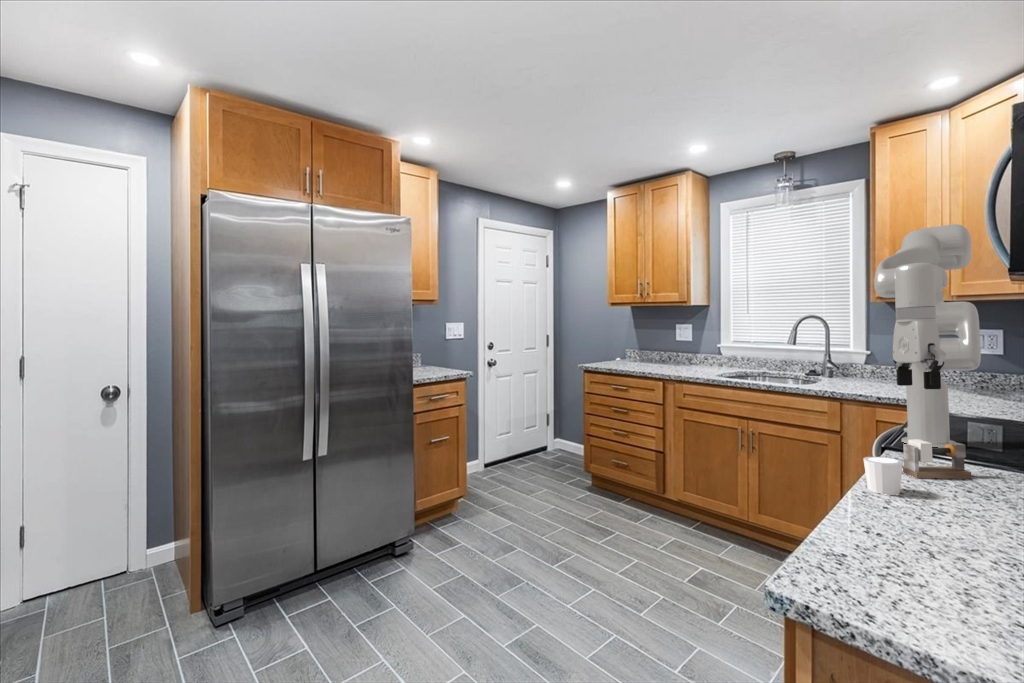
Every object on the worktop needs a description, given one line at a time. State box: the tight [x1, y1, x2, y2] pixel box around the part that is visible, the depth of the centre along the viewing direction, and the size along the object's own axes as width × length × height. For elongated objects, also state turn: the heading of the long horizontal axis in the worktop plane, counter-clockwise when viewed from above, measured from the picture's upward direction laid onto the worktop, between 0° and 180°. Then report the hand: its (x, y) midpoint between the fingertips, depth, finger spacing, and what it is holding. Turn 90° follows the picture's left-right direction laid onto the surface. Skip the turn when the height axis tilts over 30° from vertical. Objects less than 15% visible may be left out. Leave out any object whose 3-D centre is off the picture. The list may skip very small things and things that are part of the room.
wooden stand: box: [902, 442, 972, 480], centre depth 118 cm, size 5×12×8 cm, turn 82°
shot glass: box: [863, 456, 903, 496], centre depth 108 cm, size 7×7×7 cm
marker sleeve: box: [908, 439, 933, 463], centre depth 118 cm, size 4×2×4 cm, turn 172°
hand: (918, 387), depth 118 cm, fingers open, 9 cm apart
